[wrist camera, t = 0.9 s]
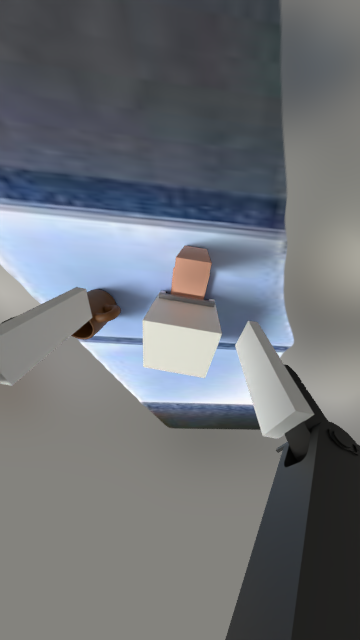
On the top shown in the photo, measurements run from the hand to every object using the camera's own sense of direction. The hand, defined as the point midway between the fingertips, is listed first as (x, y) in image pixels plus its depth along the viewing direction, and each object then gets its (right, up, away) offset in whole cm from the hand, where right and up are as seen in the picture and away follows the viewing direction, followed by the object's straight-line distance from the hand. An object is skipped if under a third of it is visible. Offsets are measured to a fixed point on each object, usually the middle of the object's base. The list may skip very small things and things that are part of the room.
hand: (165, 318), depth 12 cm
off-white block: (+2, +1, +22) cm, 23 cm away
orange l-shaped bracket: (+3, +5, +19) cm, 20 cm away
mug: (-15, +5, +23) cm, 28 cm away
